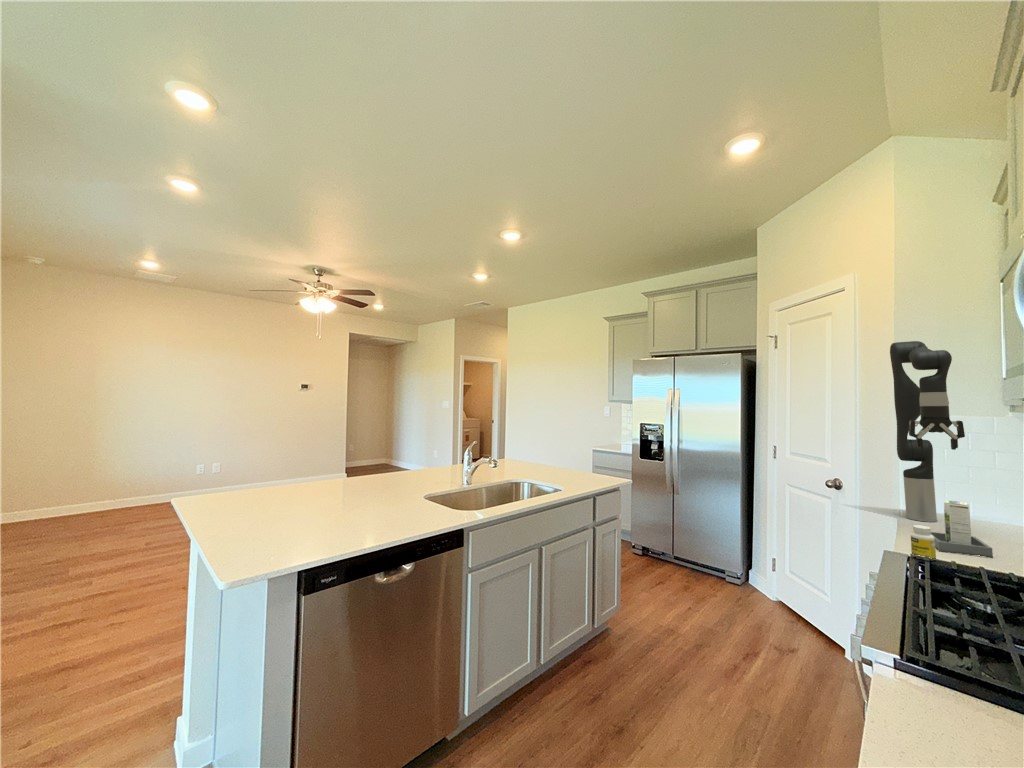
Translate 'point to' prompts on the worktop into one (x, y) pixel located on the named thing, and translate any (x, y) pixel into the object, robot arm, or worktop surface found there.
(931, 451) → the robot arm
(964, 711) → the worktop surface
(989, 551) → the tray
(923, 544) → the supplement bottle
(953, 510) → the syrup box
